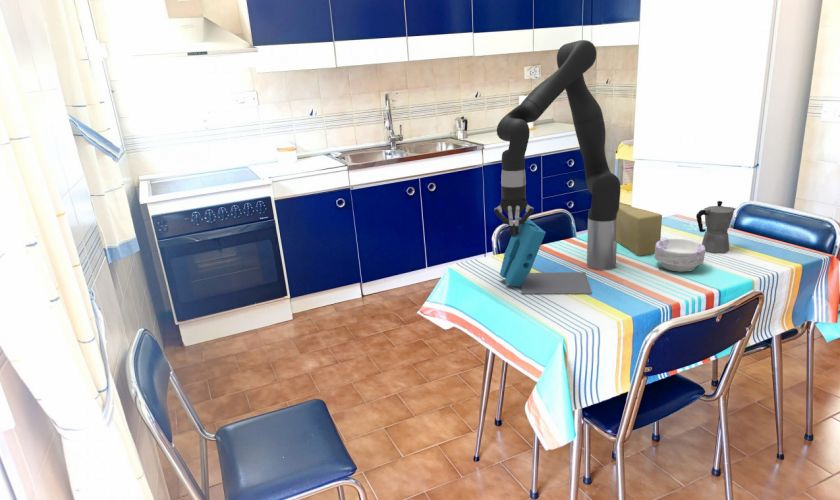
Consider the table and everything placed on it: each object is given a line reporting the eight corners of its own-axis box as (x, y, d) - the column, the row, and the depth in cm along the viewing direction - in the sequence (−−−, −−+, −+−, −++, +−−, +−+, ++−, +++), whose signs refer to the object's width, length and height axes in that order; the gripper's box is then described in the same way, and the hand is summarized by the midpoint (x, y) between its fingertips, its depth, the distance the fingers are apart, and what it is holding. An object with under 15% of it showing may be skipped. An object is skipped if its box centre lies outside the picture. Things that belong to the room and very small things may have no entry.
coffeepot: (721, 243, 208) (726, 196, 202) (740, 250, 199) (746, 201, 194) (684, 248, 205) (688, 201, 199) (702, 256, 196) (707, 207, 191)
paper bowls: (709, 275, 181) (711, 252, 178) (659, 275, 183) (661, 252, 181) (695, 259, 195) (697, 237, 192) (649, 259, 198) (651, 238, 195)
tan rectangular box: (601, 240, 221) (603, 203, 216) (623, 236, 223) (625, 200, 219) (637, 257, 201) (639, 217, 196) (660, 253, 203) (663, 213, 198)
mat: (585, 273, 190) (585, 272, 190) (592, 294, 173) (592, 293, 173) (520, 273, 193) (520, 272, 193) (521, 294, 176) (521, 293, 176)
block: (523, 289, 181) (546, 233, 174) (510, 287, 179) (533, 230, 173) (509, 273, 191) (530, 220, 185) (496, 271, 190) (517, 217, 183)
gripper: (534, 180, 177) (534, 232, 183) (492, 181, 179) (493, 233, 185) (535, 185, 170) (535, 239, 176) (491, 186, 172) (493, 240, 178)
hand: (514, 236), depth 180 cm, fingers closed
